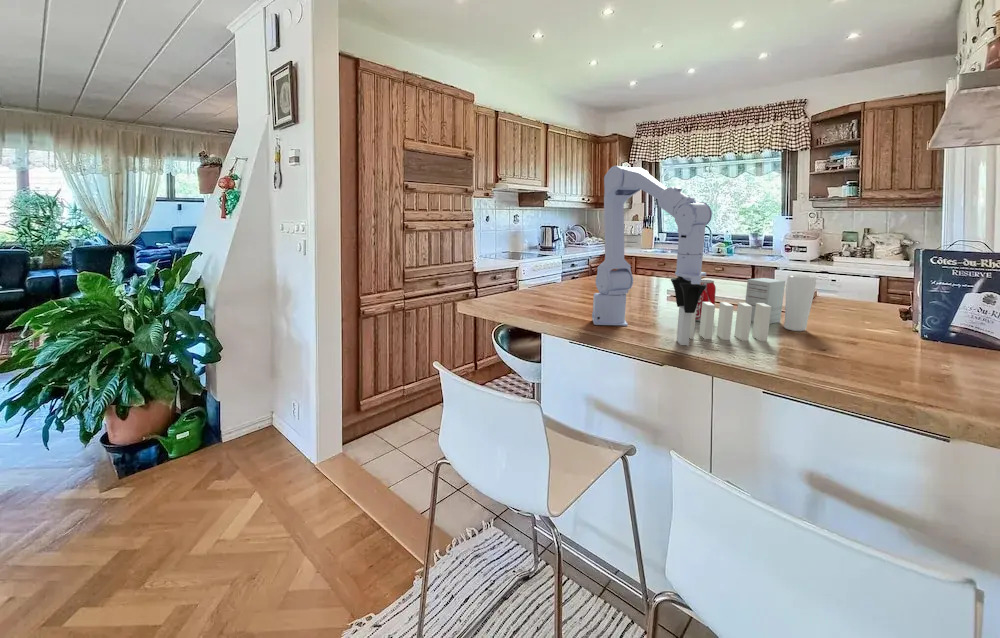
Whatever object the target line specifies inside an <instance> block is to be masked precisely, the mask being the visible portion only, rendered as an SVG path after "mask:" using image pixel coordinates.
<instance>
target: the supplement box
mask: <svg viewBox="0 0 1000 638" xmlns="http://www.w3.org/2000/svg"><path fill="white" fill-rule="evenodd" d="M785 288H786V280H782V279H775V278H767V277H758V278H751V279H748V278H747V283H746V291H745V292H746V293H745V302H744V303H747V304H749V305H751V306H752V314H751V323H754V317H755V309H756V303H764V304H767V305H769V306H771V313H770V321H769V325H770V324H776V323H781V320H782V311H783V303H784V293H785Z"/></svg>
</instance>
